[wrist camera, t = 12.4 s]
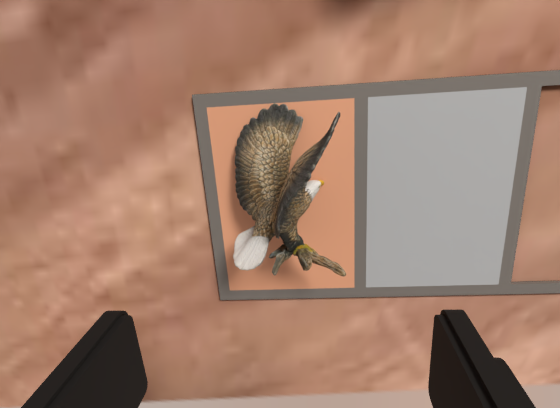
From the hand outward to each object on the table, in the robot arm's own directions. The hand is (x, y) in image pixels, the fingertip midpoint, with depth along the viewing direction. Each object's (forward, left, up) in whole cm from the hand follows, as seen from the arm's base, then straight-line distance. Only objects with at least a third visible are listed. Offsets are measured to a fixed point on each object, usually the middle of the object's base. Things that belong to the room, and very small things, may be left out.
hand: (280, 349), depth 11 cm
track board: (-9, 0, -14) cm, 17 cm away
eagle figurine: (0, -2, -14) cm, 14 cm away
